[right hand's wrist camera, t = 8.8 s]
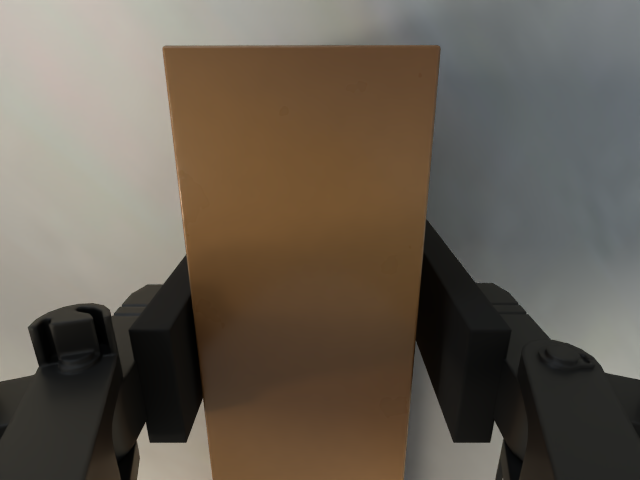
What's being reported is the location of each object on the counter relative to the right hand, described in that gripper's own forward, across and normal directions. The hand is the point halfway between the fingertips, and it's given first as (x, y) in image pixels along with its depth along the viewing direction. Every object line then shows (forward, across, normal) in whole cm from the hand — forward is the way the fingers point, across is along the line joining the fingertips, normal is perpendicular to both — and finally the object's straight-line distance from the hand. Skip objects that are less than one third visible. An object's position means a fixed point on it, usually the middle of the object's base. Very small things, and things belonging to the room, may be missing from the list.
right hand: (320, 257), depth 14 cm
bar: (+2, 0, -26) cm, 26 cm away
